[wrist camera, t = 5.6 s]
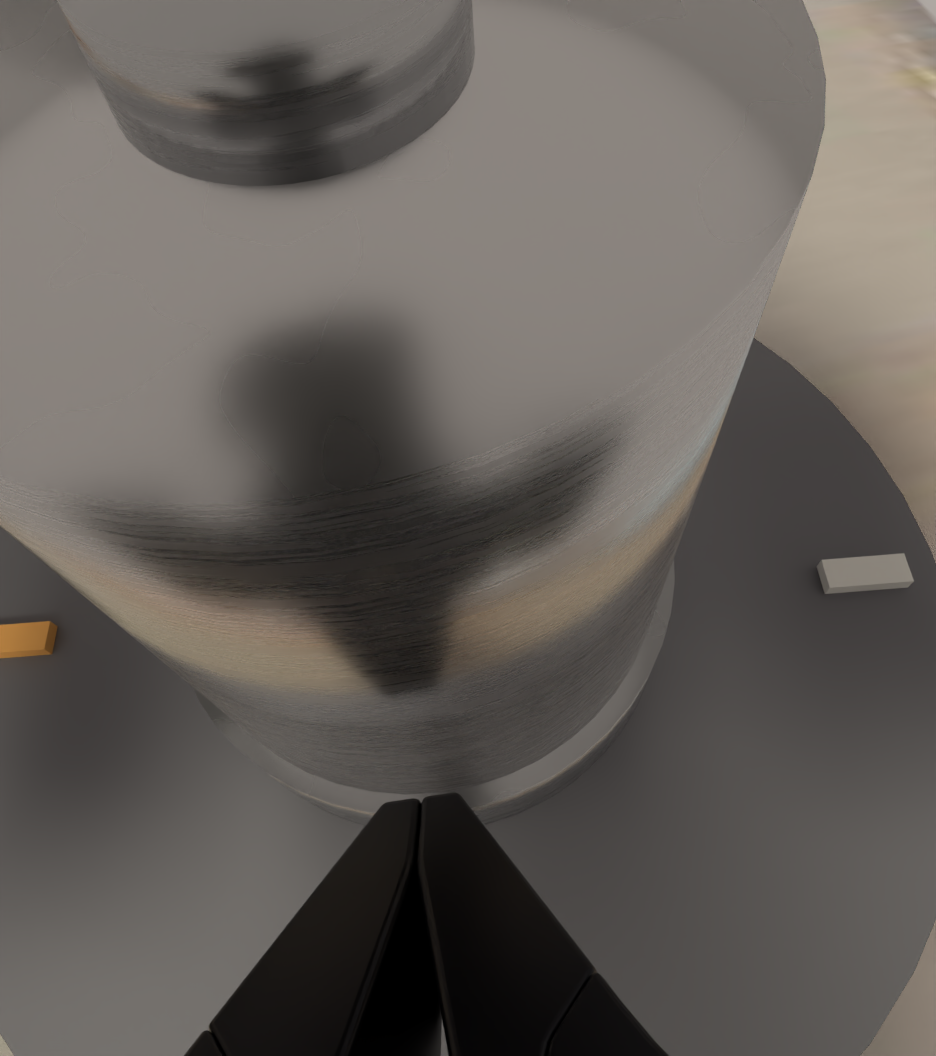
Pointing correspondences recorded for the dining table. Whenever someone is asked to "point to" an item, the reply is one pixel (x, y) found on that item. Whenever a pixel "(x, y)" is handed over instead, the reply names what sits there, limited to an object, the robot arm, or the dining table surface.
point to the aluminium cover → (388, 352)
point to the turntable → (550, 827)
